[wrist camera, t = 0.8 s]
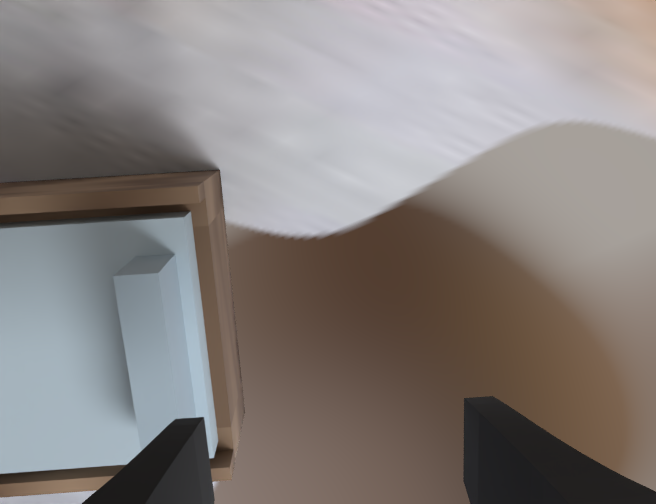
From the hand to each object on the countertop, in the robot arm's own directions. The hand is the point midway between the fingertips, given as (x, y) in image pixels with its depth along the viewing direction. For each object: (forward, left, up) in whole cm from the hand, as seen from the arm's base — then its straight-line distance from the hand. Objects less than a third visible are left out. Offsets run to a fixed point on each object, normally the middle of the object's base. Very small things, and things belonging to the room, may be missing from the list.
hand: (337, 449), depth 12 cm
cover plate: (0, +12, -7) cm, 13 cm away
